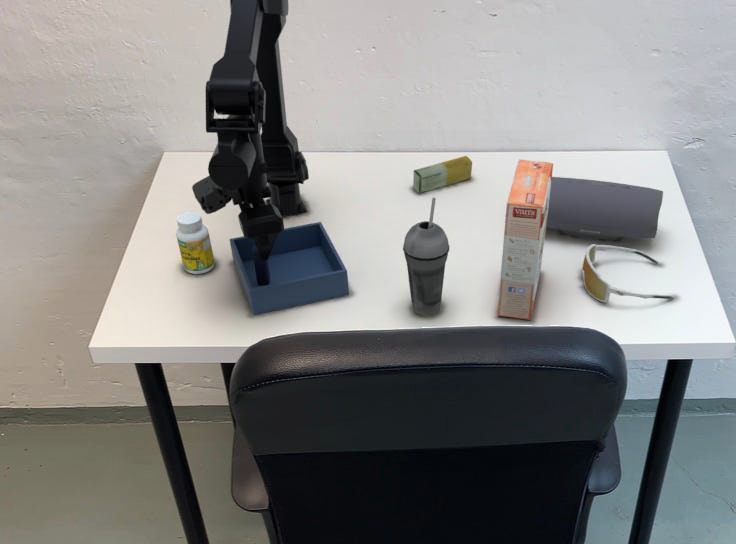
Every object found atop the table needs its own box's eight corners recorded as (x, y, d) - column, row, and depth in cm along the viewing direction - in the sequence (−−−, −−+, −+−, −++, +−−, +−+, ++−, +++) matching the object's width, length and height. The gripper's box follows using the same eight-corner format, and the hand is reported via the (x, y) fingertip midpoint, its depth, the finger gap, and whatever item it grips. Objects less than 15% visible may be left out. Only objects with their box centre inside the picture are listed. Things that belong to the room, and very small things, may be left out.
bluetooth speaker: (654, 227, 164) (664, 177, 157) (652, 254, 158) (662, 204, 150) (532, 212, 168) (536, 163, 161) (524, 239, 161) (529, 189, 154)
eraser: (258, 278, 152) (252, 243, 147) (271, 278, 152) (266, 244, 147) (256, 285, 150) (250, 251, 145) (269, 285, 150) (264, 251, 145)
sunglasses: (571, 260, 156) (578, 235, 153) (653, 267, 158) (662, 243, 155) (586, 308, 146) (594, 283, 142) (673, 315, 148) (683, 291, 145)
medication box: (418, 194, 173) (418, 177, 169) (412, 187, 174) (412, 169, 171) (471, 178, 176) (473, 161, 173) (465, 171, 178) (466, 154, 175)
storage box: (233, 262, 156) (229, 238, 152) (323, 244, 160) (320, 221, 156) (253, 315, 145) (249, 290, 142) (349, 294, 149) (347, 270, 146)
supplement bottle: (220, 260, 156) (211, 212, 149) (206, 277, 152) (195, 228, 146) (193, 255, 157) (182, 207, 151) (178, 272, 154) (166, 223, 147)
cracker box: (533, 321, 144) (545, 206, 129) (496, 317, 144) (504, 201, 130) (542, 273, 153) (555, 160, 139) (507, 269, 154) (516, 157, 140)
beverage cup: (402, 295, 149) (400, 187, 135) (446, 293, 149) (447, 185, 135) (405, 322, 144) (403, 212, 129) (450, 320, 144) (452, 210, 130)
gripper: (181, 138, 139) (199, 225, 150) (202, 195, 127) (220, 286, 138) (251, 127, 142) (264, 213, 153) (278, 181, 130) (290, 271, 141)
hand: (258, 245), depth 146 cm, fingers open, 9 cm apart
